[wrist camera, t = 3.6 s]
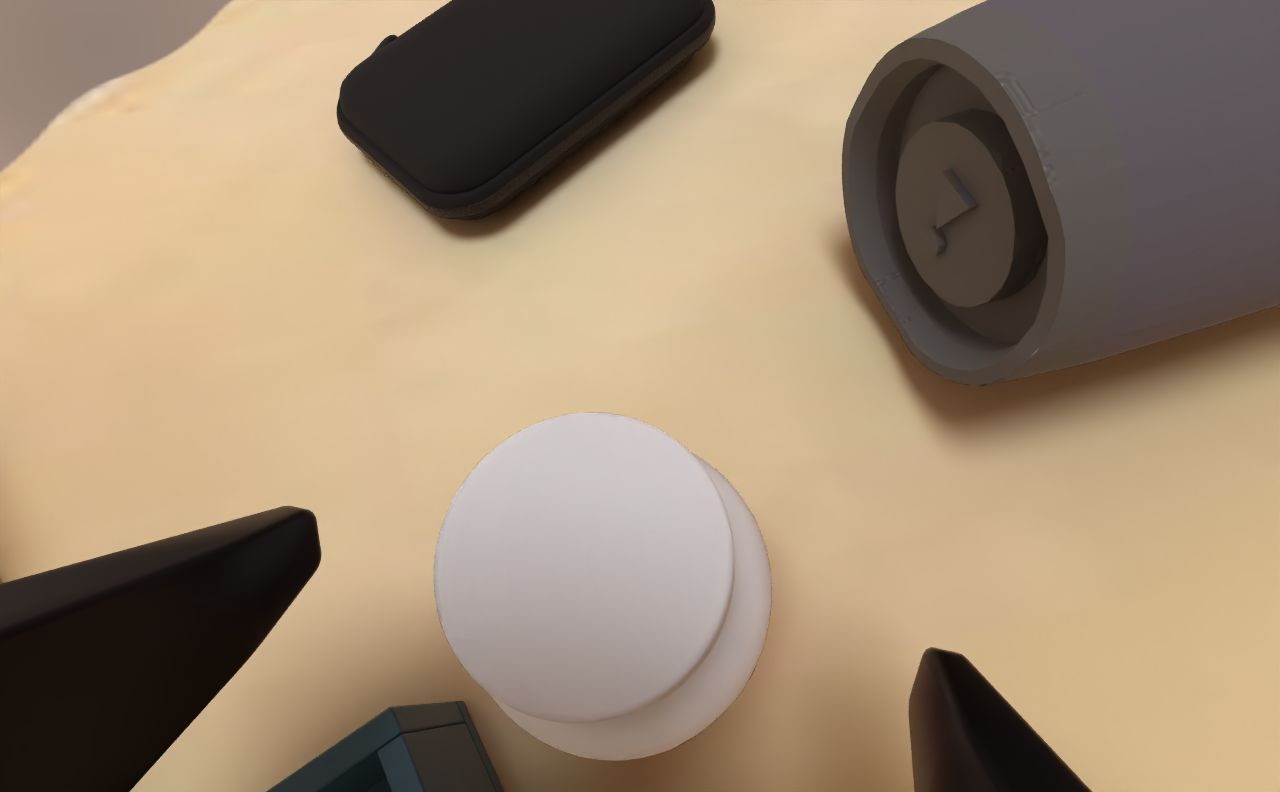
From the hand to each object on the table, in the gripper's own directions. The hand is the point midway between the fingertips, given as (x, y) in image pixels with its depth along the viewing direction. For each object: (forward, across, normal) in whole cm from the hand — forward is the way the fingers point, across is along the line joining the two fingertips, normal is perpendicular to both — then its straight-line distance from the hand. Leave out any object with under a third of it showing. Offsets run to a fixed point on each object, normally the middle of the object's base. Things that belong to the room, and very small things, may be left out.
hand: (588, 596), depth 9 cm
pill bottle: (+7, 0, +6) cm, 9 cm away
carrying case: (+21, +10, -8) cm, 24 cm away
